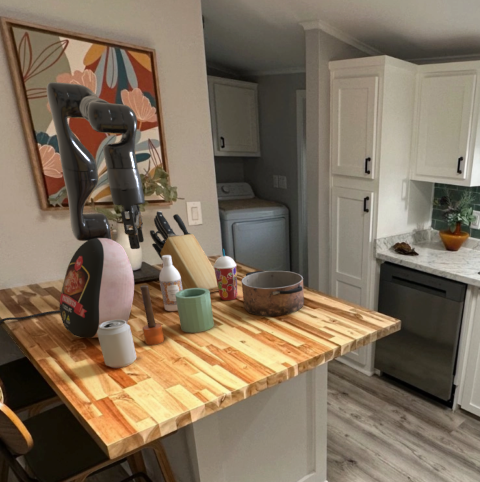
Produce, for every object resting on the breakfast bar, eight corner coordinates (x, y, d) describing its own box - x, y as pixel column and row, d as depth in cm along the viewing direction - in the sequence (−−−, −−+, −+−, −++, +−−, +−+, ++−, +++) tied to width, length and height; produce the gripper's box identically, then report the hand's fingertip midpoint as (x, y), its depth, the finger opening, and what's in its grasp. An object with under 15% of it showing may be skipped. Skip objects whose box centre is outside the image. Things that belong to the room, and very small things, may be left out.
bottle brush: (144, 345, 123) (132, 289, 117) (146, 339, 128) (135, 284, 121) (163, 343, 125) (152, 287, 119) (164, 336, 129) (154, 282, 123)
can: (114, 356, 117) (105, 317, 112) (142, 356, 117) (134, 317, 113) (99, 369, 110) (89, 329, 105) (129, 369, 110) (119, 328, 106)
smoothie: (244, 296, 166) (239, 248, 159) (230, 302, 159) (224, 252, 152) (227, 293, 169) (221, 245, 161) (213, 299, 161) (206, 250, 154)
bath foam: (166, 313, 147) (156, 259, 140) (163, 306, 153) (154, 254, 145) (187, 309, 151) (178, 257, 143) (184, 303, 156) (175, 252, 149)
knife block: (180, 275, 189) (169, 207, 178) (225, 291, 170) (216, 217, 159) (155, 280, 181) (142, 209, 169) (200, 298, 162) (188, 220, 150)
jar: (180, 334, 131) (174, 299, 127) (182, 322, 140) (176, 289, 136) (214, 330, 135) (209, 296, 131) (213, 319, 144) (209, 286, 139)
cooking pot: (228, 301, 160) (225, 275, 156) (278, 289, 175) (276, 265, 171) (270, 324, 141) (267, 295, 137) (321, 309, 156) (320, 282, 152)
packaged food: (55, 333, 129) (28, 239, 118) (122, 315, 144) (103, 230, 133) (86, 353, 118) (59, 251, 107) (154, 331, 133) (137, 240, 122)
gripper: (114, 183, 114) (126, 240, 120) (104, 188, 102) (117, 251, 108) (145, 183, 117) (155, 239, 123) (138, 188, 105) (149, 250, 111)
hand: (137, 245), depth 116 cm, fingers open, 8 cm apart
